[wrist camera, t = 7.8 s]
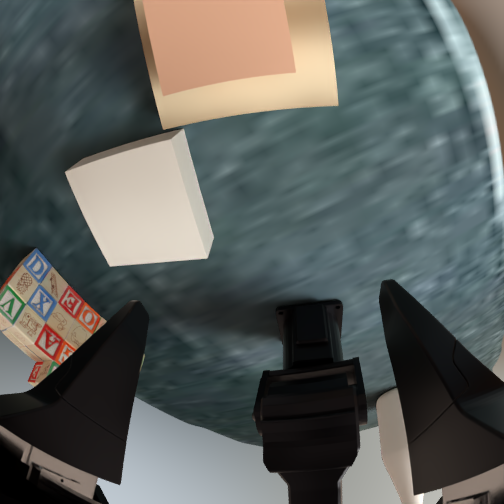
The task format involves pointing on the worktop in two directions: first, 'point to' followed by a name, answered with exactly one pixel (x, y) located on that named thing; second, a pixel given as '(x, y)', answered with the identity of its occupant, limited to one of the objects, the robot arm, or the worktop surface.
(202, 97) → the birch slab
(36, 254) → the stack of blocks
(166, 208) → the white plastic slab
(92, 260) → the worktop surface
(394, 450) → the wine bottle
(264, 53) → the terracotta cube
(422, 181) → the worktop surface
